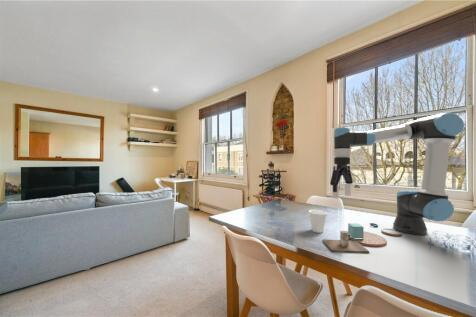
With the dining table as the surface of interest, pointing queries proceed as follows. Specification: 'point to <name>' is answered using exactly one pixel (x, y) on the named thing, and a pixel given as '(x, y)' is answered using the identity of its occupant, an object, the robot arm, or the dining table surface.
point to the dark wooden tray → (345, 244)
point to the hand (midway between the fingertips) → (341, 196)
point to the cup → (317, 220)
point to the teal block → (355, 230)
